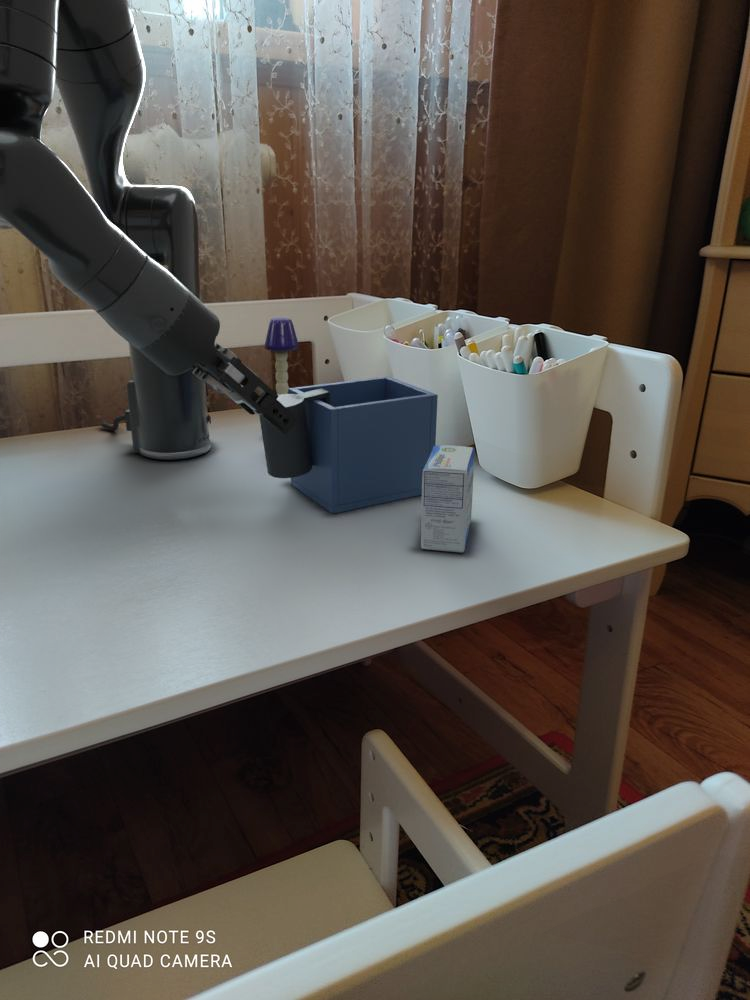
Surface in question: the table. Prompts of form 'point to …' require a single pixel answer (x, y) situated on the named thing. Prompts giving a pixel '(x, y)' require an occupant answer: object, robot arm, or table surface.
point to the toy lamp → (281, 348)
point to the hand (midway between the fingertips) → (273, 417)
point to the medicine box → (447, 498)
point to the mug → (291, 437)
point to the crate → (367, 442)
